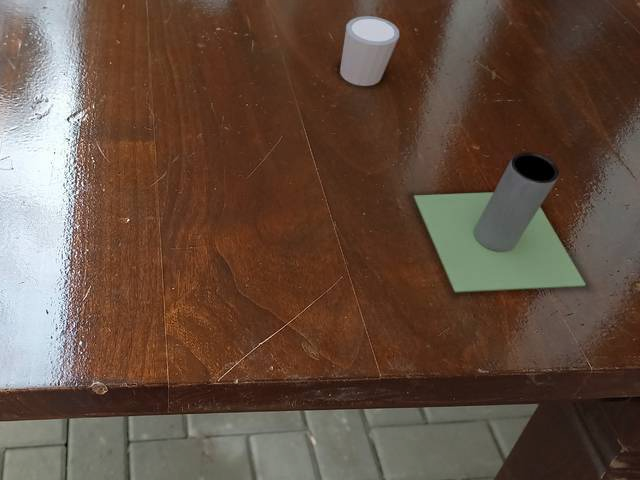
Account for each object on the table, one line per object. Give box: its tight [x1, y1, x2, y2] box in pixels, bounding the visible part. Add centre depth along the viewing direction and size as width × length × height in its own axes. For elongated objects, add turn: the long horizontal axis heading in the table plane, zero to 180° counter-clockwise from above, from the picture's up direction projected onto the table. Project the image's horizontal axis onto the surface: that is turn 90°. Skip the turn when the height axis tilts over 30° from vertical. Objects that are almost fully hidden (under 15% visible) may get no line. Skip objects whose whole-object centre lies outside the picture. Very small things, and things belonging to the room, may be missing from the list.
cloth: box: [413, 191, 586, 294], centre depth 76 cm, size 14×14×1 cm
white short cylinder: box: [339, 15, 400, 87], centre depth 93 cm, size 7×7×7 cm
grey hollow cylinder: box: [474, 151, 560, 252], centre depth 72 cm, size 4×4×10 cm
